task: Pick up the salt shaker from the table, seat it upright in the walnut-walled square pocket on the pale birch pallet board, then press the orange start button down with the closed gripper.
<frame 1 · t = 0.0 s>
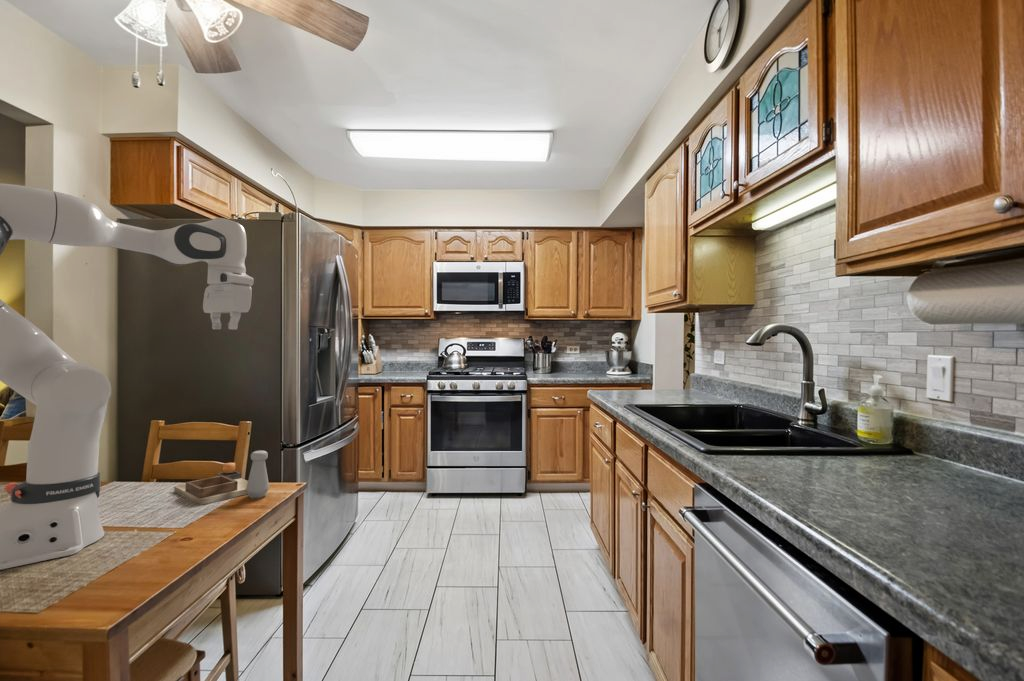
hand: (224, 329, 124), 48 cm above the table, fingers open, 8 cm apart
salt shaker: (257, 496, 131), on the table
start button: (229, 467, 142), point 5 cm above the table, slide at 0.0 cm
pallet board: (218, 491, 134), on the table
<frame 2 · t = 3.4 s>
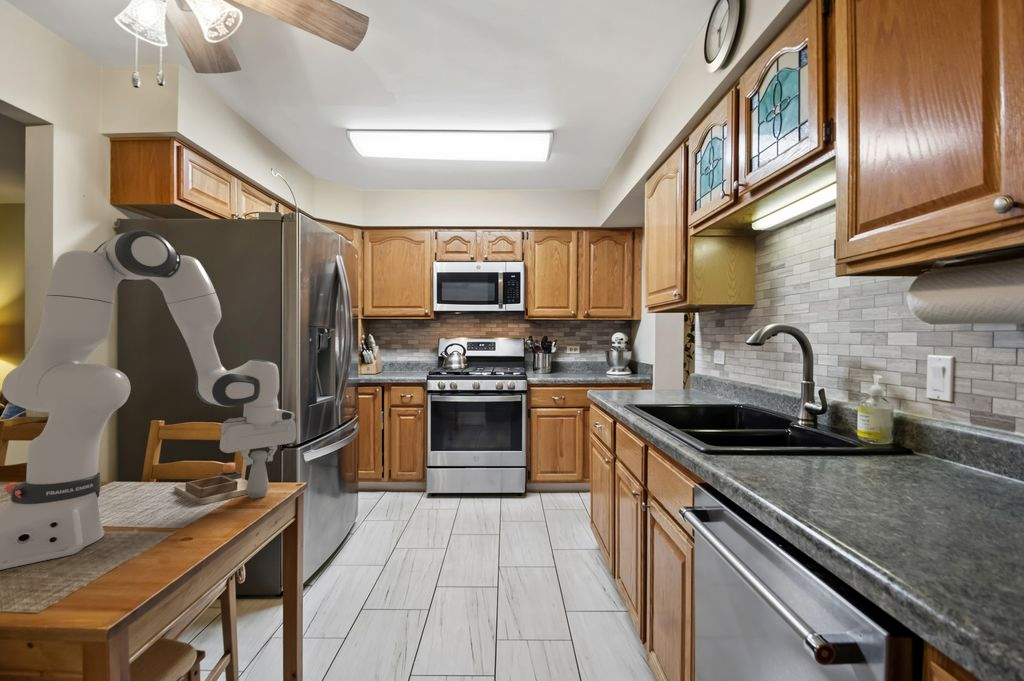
hand: (258, 462, 131), 10 cm above the table, fingers closed on salt shaker, 4 cm apart
salt shaker: (257, 496, 131), on the table, touching gripper
everything else where it was.
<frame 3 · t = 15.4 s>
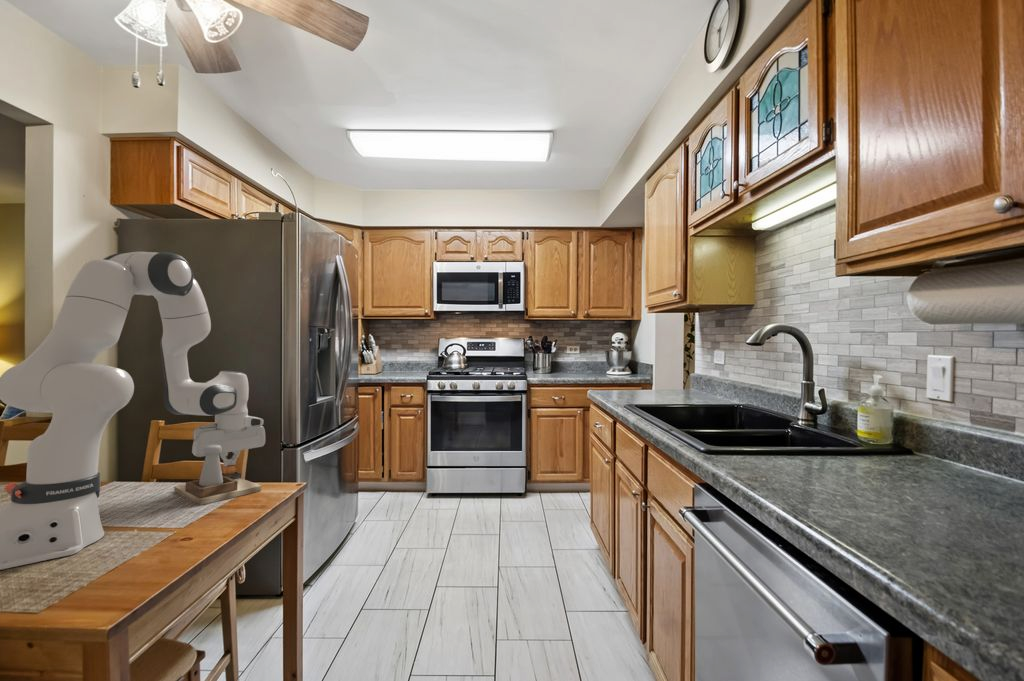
hand: (229, 465, 142), 5 cm above the table, fingers closed, pressing on start button
salt shaker: (210, 491, 130), point 1 cm above the table, touching pallet board
start button: (229, 469, 142), point 4 cm above the table, slide at 0.7 cm, touching gripper
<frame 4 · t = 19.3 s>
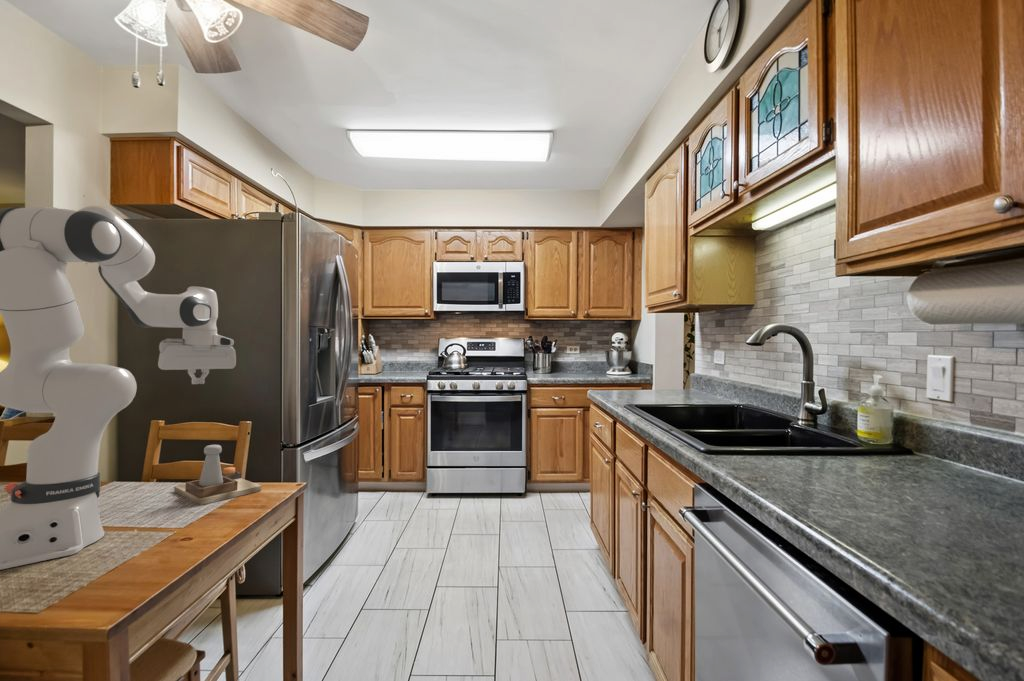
hand: (198, 383, 140), 31 cm above the table, fingers closed
start button: (229, 472, 142), point 3 cm above the table, slide at 1.4 cm
everything else where it was.
at the end: salt shaker 0.2 cm from the target spot on the pallet board, point 1.3 cm above the pallet board's base; salt shaker tilted 0°; start button slide at 1.4 cm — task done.
